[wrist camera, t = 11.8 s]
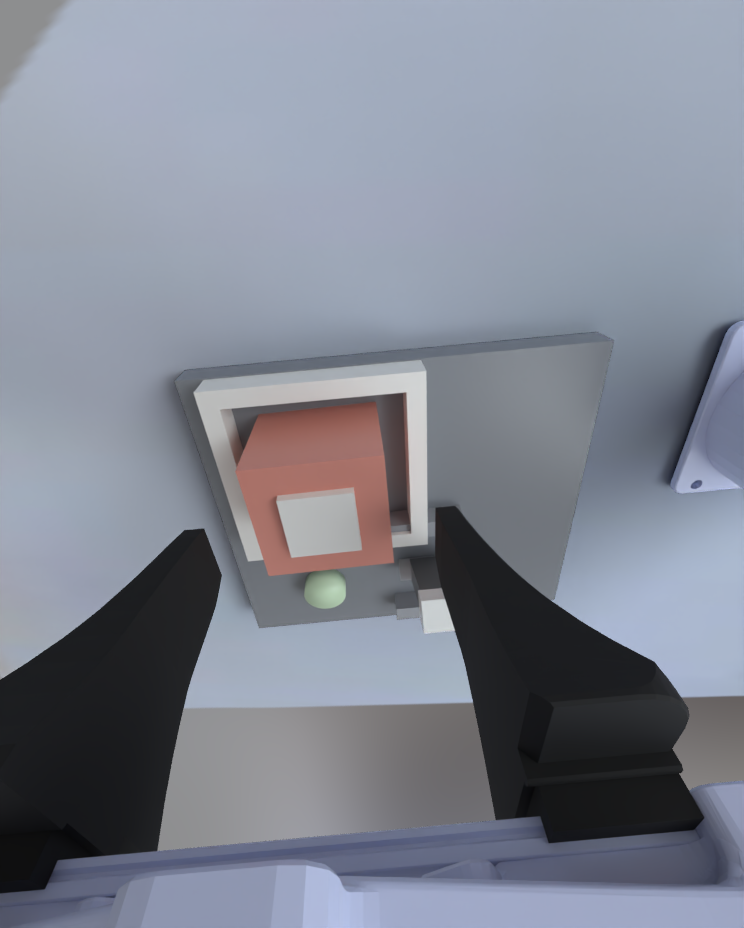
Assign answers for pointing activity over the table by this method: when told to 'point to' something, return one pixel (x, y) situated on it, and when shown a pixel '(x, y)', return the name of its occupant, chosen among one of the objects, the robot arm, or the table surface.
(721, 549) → the table surface
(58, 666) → the robot arm
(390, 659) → the table surface
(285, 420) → the pink cube
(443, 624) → the lever
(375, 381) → the panel
